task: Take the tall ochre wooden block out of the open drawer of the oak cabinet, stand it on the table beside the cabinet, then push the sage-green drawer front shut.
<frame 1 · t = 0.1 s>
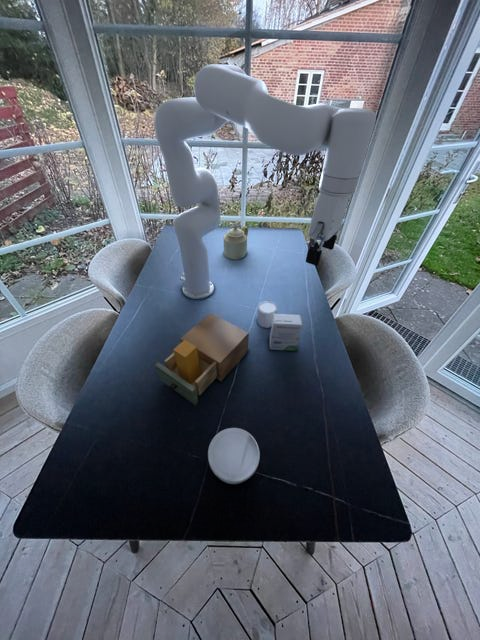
hand: (319, 255, 68), 31 cm above the table, tool pointing down, fingers open, 9 cm apart
white cylinder: (265, 322, 95), on the table
block: (190, 375, 75), point 2 cm above the table, touching drawer
ramekin: (233, 461, 61), on the table
sugar bowl: (235, 252, 130), on the table
drawer: (189, 370, 74), point 4 cm above the table, slide at 9.0 cm, touching block
cabinet: (216, 354, 83), on the table
ink box: (282, 345, 87), on the table
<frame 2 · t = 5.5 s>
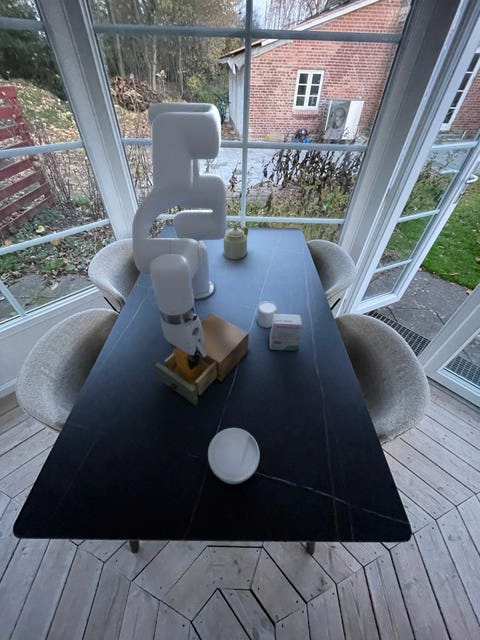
hand: (187, 361, 70), 9 cm above the table, tool pointing down, fingers closed on block, 4 cm apart
block: (190, 375, 75), point 2 cm above the table, touching drawer, gripper
everything else where it was.
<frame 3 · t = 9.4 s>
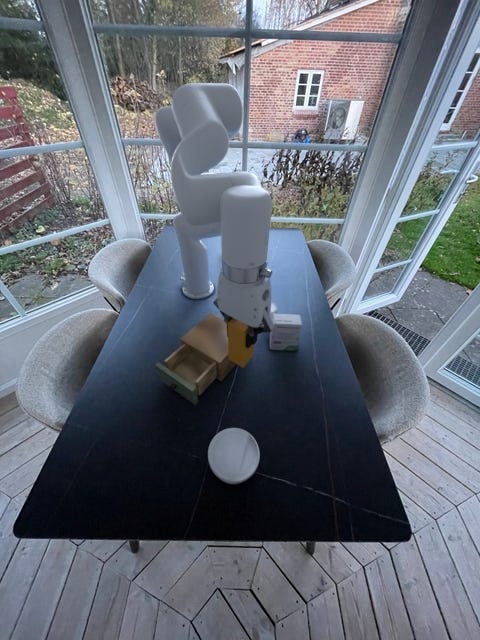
hand: (241, 338, 58), 23 cm above the table, tool pointing down, fingers closed on block, 4 cm apart
block: (240, 357, 62), point 16 cm above the table, touching gripper
drawer: (189, 370, 74), point 4 cm above the table, slide at 9.0 cm
everything else where it was.
when the fingers open (7 cm above the table, at t = 13.5 s): block stays where it is, on the table.
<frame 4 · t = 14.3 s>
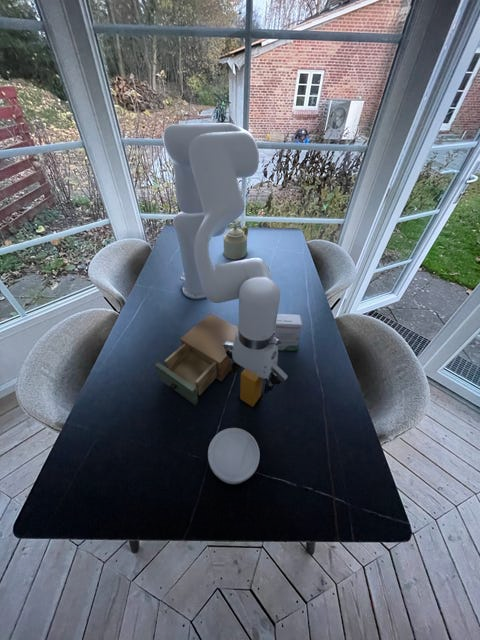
hand: (251, 379, 67), 8 cm above the table, tool pointing down, fingers open, 9 cm apart
block: (250, 397, 73), on the table
everything else where it was.
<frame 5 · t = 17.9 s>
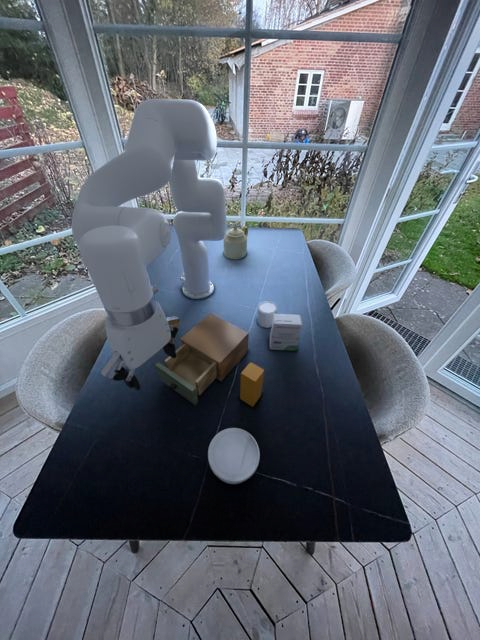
hand: (153, 369, 54), 20 cm above the table, tool pointing down, fingers open, 9 cm apart
nothing on the table moved.
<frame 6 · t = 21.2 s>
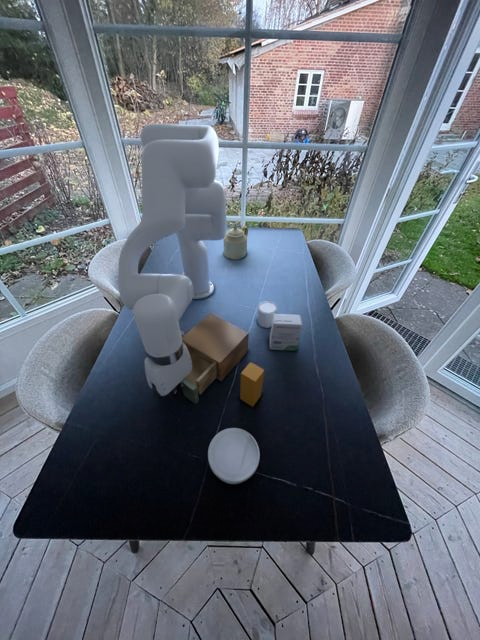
hand: (177, 395, 67), 5 cm above the table, tool pointing down, fingers closed
drawer: (190, 369, 74), point 4 cm above the table, slide at 8.7 cm, touching gripper
everything else where it was.
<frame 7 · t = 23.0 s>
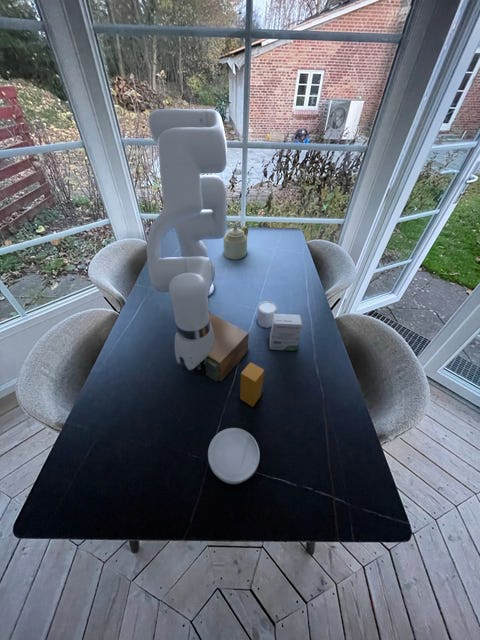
hand: (200, 372, 73), 5 cm above the table, tool pointing down, fingers closed
drawer: (210, 350, 79), point 4 cm above the table, slide at 0.0 cm, touching cabinet, gripper
everything else where it was.
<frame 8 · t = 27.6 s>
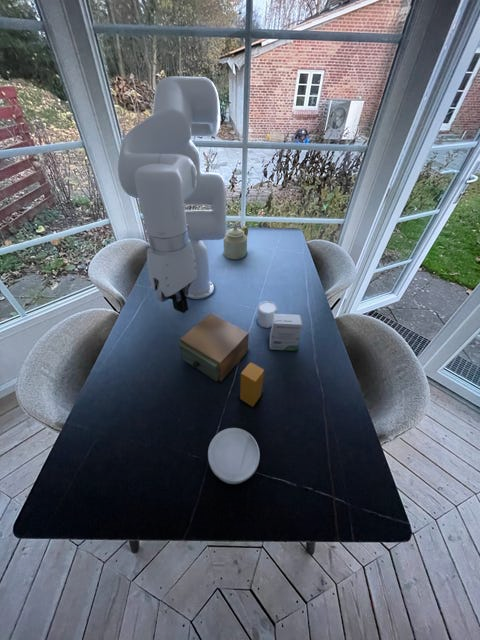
hand: (181, 309, 64), 23 cm above the table, tool pointing down, fingers closed
drawer: (210, 350, 79), point 4 cm above the table, slide at 0.0 cm, touching cabinet
everything else where it was.
at the end: block inside the target area (0.1 cm from its centre), on the table; block tilted 0°; drawer slide at 0.0 cm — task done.
